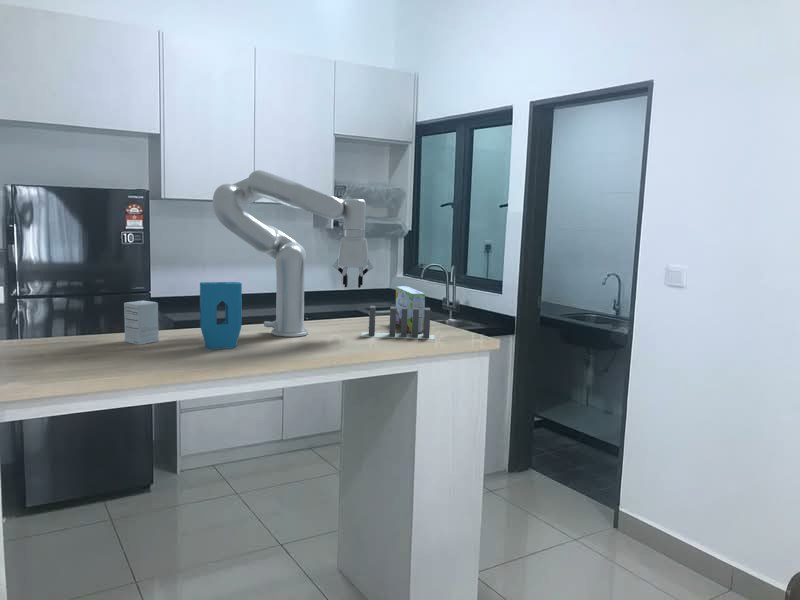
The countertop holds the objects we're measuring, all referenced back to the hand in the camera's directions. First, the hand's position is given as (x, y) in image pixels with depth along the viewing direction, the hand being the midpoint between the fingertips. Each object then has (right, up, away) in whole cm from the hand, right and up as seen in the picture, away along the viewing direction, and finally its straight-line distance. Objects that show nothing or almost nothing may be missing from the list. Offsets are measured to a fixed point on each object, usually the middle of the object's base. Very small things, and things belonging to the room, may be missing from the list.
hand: (352, 286), depth 221 cm
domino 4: (+22, -18, +2) cm, 28 cm away
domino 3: (+18, -17, +2) cm, 25 cm away
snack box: (+20, -16, +20) cm, 32 cm away
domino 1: (+7, -17, +2) cm, 18 cm away
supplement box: (-65, -18, -21) cm, 71 cm away
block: (-39, -20, -24) cm, 50 cm away
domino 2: (+14, -17, +2) cm, 22 cm away
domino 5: (+26, -18, +2) cm, 31 cm away
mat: (+16, -18, +2) cm, 24 cm away
